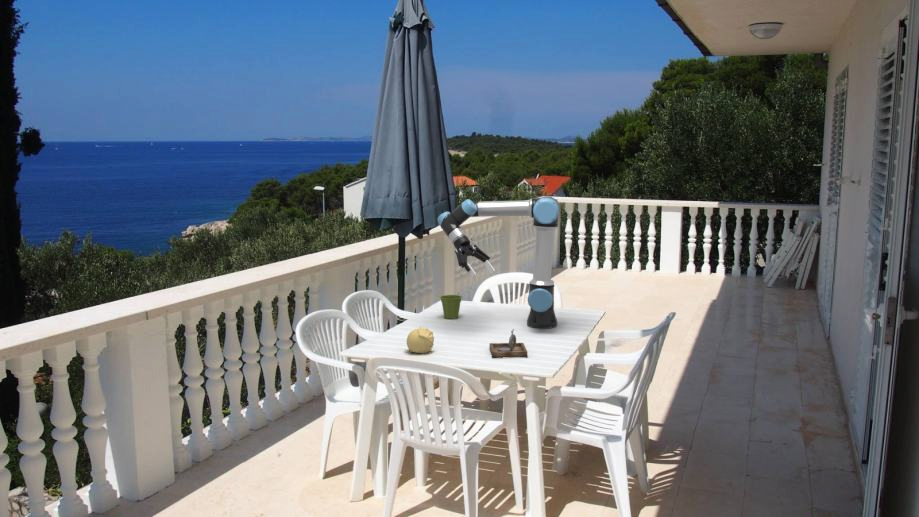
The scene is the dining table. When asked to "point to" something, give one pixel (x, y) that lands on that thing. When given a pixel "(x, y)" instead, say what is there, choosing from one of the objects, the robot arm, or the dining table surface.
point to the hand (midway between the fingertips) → (483, 274)
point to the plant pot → (451, 305)
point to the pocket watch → (511, 346)
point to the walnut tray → (516, 352)
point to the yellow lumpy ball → (420, 340)
